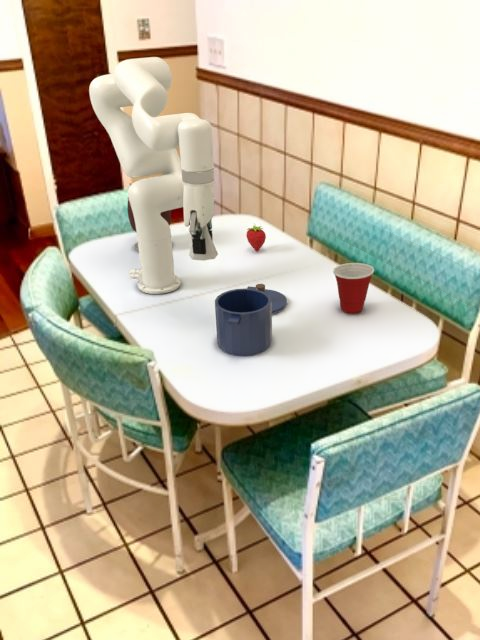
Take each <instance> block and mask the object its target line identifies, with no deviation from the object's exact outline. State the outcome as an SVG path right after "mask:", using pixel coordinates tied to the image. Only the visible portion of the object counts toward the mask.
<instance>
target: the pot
mask: <svg viewBox="0 0 480 640" xmlns="http://www.w3.org/2000/svg"><path fill="white" fill-rule="evenodd" d="M214 311H215V313H214V314H215V328H216V329H215V330H216V341H217V342H216V345H217V347H218V348H219V350H220V351H222V352H224V353H226V354H228V355H231V356H236V357H249V356H251V357H252V356H256V355H260V354H261V353H264V352H266V351H267V350H268V349H269V348H270V347H271V346H272V342H273V313H272V301H271V297H270V296H269V295H268V294H267V293H265V292H263V291H259V290H257V287H256V286H249V285H248V286H247V287H246V288H235V289H230V290H226V291H224V292H222V293H220V294H218V295H217V296H216V297H215V299H214Z"/></svg>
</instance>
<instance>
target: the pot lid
mask: <svg viewBox="0 0 480 640" xmlns="http://www.w3.org/2000/svg"><path fill="white" fill-rule="evenodd" d="M255 287H257V290H259V291H263V292H265V293H267V294H268V295H269V296H270V297H271V301H272V314H274V313H278V312H280V311H282V310H284V309H285V307H286V306H287V305H288V298H287V296H286V295H285V294H283V293H281V292H279V291H277V290H274V289H267V288H266V285H265V284H264V283H257V284H255Z"/></svg>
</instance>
